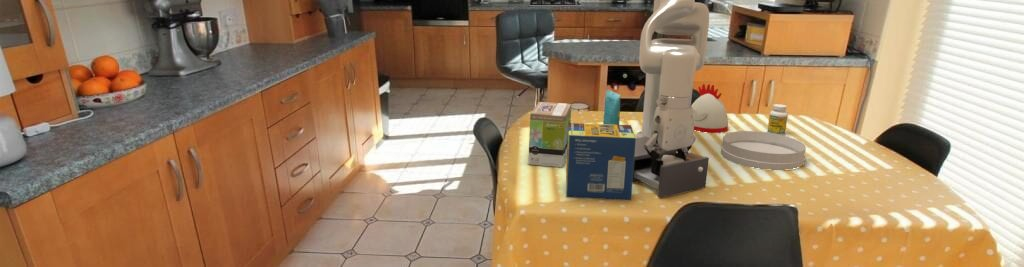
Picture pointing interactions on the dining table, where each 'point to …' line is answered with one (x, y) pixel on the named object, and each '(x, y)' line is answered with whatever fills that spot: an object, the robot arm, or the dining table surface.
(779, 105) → the supplement bottle
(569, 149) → the protein box
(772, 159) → the dish
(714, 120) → the hen dome cover
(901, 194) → the dining table surface
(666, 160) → the disc
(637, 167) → the housing
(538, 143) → the tea box
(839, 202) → the dining table surface
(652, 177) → the drawer
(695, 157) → the walnut block
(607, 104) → the tube
